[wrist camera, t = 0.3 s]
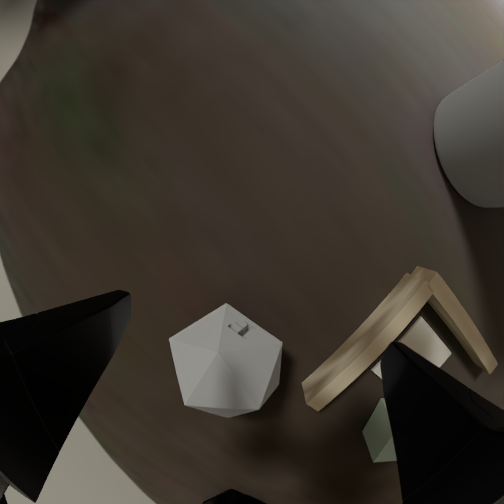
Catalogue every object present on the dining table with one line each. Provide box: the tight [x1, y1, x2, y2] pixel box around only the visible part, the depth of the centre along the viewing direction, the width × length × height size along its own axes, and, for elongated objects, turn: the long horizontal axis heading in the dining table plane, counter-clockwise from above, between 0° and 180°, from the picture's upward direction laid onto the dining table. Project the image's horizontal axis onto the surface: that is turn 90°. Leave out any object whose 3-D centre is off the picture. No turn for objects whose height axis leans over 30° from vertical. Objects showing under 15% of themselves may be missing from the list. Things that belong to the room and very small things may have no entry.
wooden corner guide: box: [302, 266, 498, 411], centre depth 23 cm, size 15×16×4 cm
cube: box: [362, 398, 397, 462], centre depth 22 cm, size 5×5×5 cm
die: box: [169, 303, 282, 418], centre depth 21 cm, size 8×9×10 cm
